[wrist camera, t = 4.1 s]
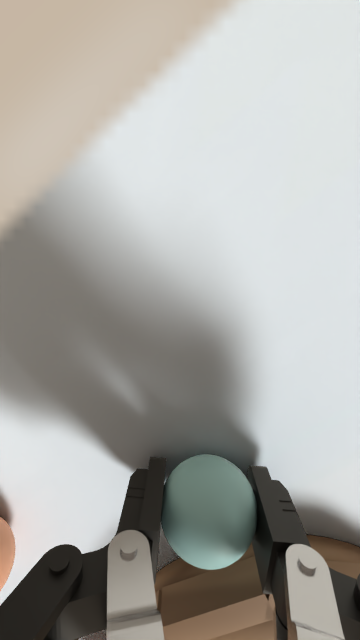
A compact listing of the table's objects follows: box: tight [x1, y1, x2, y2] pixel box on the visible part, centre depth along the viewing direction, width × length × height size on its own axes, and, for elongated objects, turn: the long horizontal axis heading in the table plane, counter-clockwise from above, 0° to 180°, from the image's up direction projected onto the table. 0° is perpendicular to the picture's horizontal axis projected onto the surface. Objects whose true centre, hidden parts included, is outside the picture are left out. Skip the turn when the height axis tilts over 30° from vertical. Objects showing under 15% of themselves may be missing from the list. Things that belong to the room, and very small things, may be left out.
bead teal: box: [161, 454, 257, 570], centre depth 12 cm, size 4×4×4 cm
